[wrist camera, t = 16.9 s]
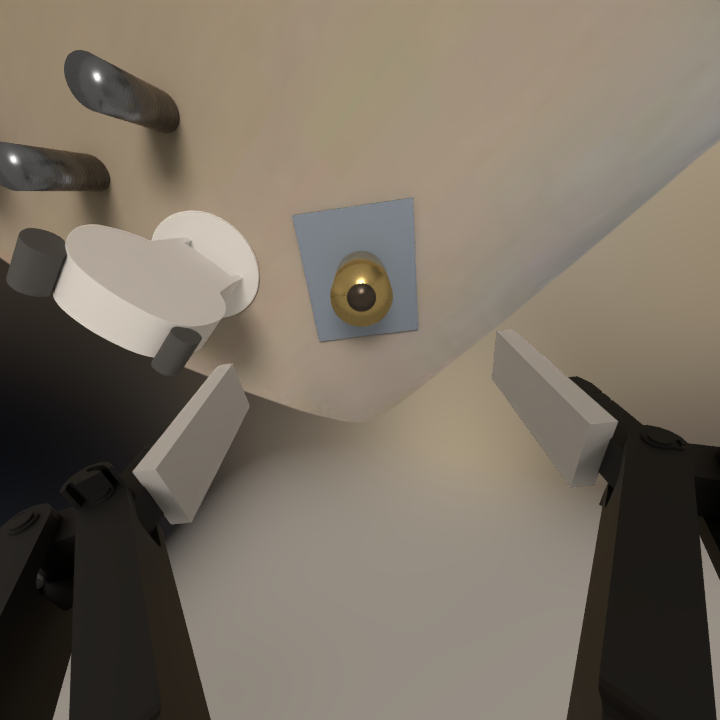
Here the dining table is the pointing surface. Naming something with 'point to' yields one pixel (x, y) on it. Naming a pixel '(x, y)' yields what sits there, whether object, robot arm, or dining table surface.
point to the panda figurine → (143, 281)
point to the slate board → (351, 234)
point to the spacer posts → (100, 94)
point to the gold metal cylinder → (361, 289)
